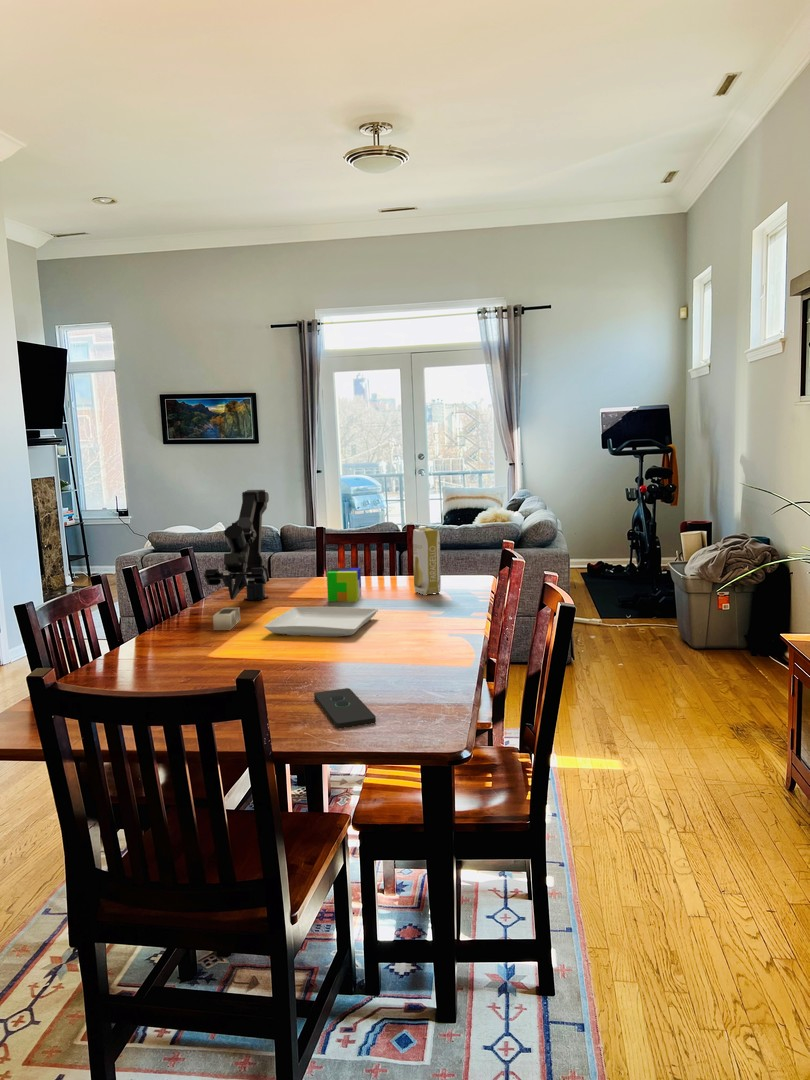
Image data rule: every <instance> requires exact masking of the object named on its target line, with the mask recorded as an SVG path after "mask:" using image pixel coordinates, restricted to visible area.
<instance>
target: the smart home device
mask: <svg viewBox="0 0 810 1080" xmlns="http://www.w3.org/2000/svg"><path fill="white" fill-rule="evenodd" d="M313 695H314V698H315V699H314V698H313V699H314V701H315V702H316V701H317V702H318V703H317V702H316V703H317V704H318V706H319V705H320V706H321V707H320V706H319V707H320V708H321V710H322V709H323V710H322V711H323V712H324V714H325V713H326V714H327V715H326V714H325V715H326V716H327V718H328V717H329V718H328V719H329V721H330V722H331V723H332V725H333V726H334V725H335V726H334V728H336V729H338V728H341V729H345V728H344V727H347V728H353V727H352V726H354V727H359V726H358V725H361V726H366V725H365V724H367V725H372V724H371V723H374V724H376V723H375V722H377V720H376V719H377V718H376V715H375V713H373V712H372V711H371V710H370V709H369V707H367V706H366V705H367V704H365V703H364V702H363V700H361V698H359V697H358V695H357V694H356V693H355V692H354V691H353V690H352V689H351V688H348V687H344V688H339V689H338V688H337V689H332V690H323V691H317V692H314V694H313Z"/></svg>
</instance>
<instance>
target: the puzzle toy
mask: <svg viewBox="0 0 810 1080" xmlns="http://www.w3.org/2000/svg"><path fill="white" fill-rule="evenodd" d="M361 574H362V573H361V567H333V568H331V569H330V570H328V572H326V582H327V583H326V586H327V602H328V601H357V602H358V601H359V600H360V598H361V597H362V575H361Z"/></svg>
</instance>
